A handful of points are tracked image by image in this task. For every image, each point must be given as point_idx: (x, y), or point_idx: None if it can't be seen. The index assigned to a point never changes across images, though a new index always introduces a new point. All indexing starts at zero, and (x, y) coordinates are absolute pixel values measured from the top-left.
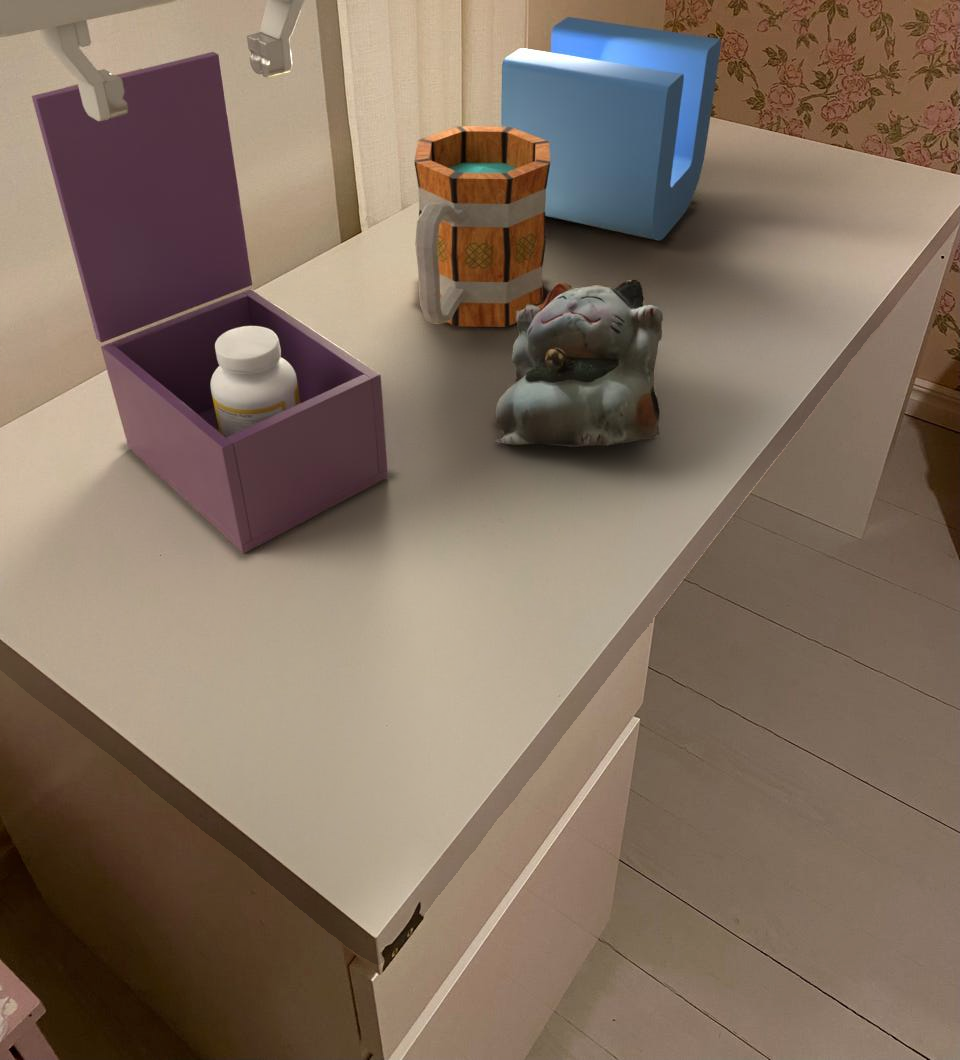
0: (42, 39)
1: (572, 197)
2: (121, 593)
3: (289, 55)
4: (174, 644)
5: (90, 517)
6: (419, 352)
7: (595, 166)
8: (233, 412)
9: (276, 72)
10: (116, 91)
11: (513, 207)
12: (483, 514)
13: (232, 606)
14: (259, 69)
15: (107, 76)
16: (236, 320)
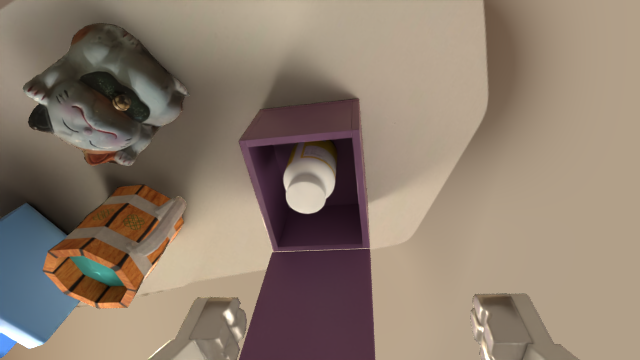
0: None
1: None
2: (426, 108)
3: (189, 314)
4: (425, 54)
5: (408, 168)
6: (199, 191)
7: (31, 255)
8: (330, 166)
9: (221, 298)
10: (503, 324)
11: (92, 234)
12: (223, 47)
13: (384, 63)
14: (240, 314)
15: (507, 355)
16: (289, 237)
